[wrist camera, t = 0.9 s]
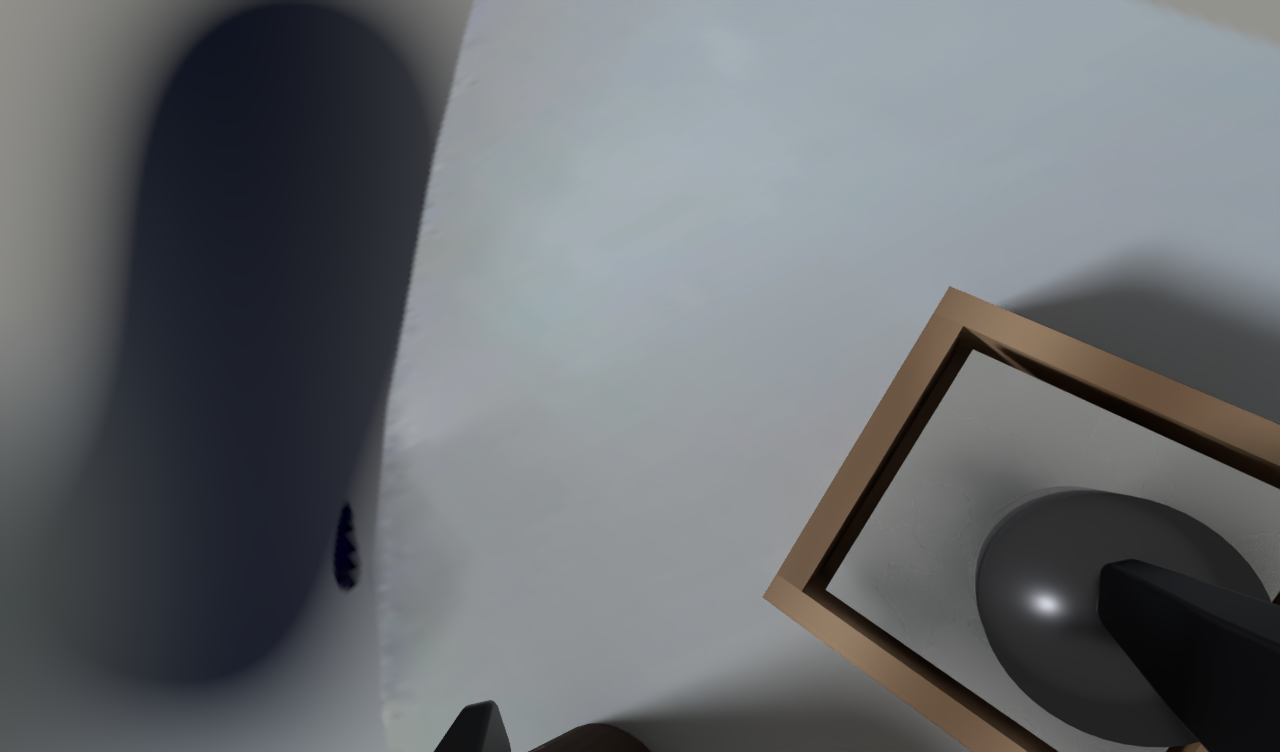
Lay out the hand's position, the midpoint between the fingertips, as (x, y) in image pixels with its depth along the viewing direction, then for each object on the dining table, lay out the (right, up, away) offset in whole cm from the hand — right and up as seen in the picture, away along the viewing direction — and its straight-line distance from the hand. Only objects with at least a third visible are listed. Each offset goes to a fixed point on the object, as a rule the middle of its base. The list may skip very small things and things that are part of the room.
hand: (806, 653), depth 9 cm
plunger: (+8, 0, +6) cm, 10 cm away
